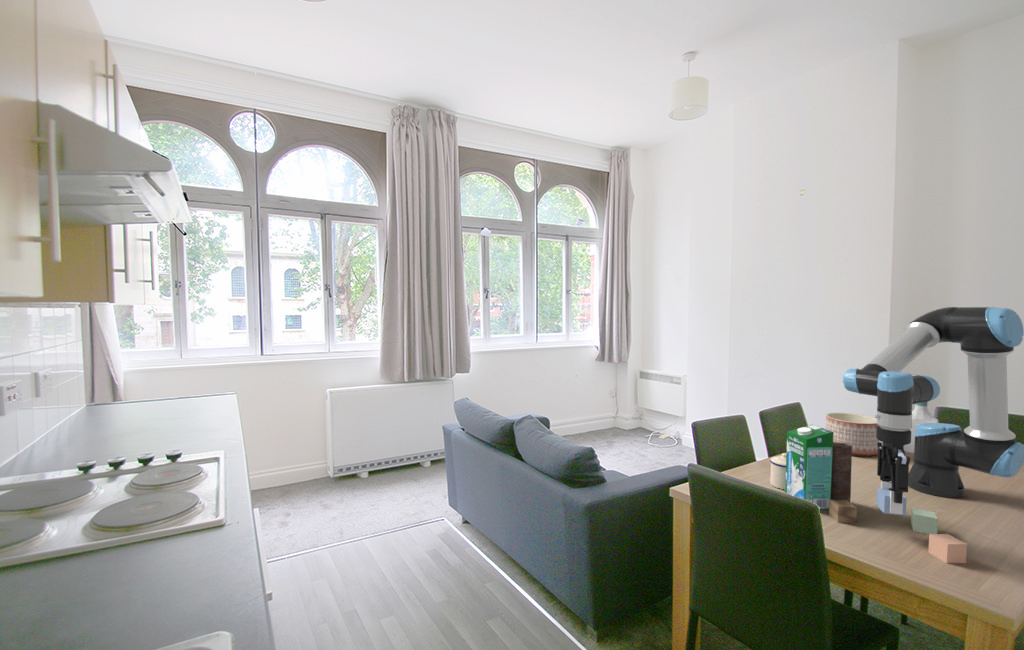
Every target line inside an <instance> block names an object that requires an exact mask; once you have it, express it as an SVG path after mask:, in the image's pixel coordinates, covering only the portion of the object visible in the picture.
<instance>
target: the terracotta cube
mask: <svg viewBox="0 0 1024 650" xmlns="http://www.w3.org/2000/svg"><path fill="white" fill-rule="evenodd" d="M928 535H929V536H928V554H930V555H932V556H934V557H935V558H938V559H939V560H940V561H942V562H944V563H946V564H967V552H968V544H967V542H964V541H962V540H960V539H959V538H956V537H954V536H952V535H951V534H948V533H937V534H928Z"/></svg>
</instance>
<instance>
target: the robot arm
mask: <svg viewBox="0 0 1024 650" xmlns="http://www.w3.org/2000/svg"><path fill="white" fill-rule="evenodd" d="M903 331H904V332H903V333H902V334H901V335H900V336H899V337H897V338H896V339H895V340H894V341H893V342H891V343H890V344H889V345H888V346H886V348H884V349H883V350H882V351H881V352H880V353H878V354H877V355H876V356H875V357H874V358H873V359H872V360H870V361H869V362H867V364H865V365H864V367H862V368H860V369H859V368H858V367H857V368H849V369H847V370H846V371H845V372H844V374H843V376H842V383H843V387H844V388H845V390H847V391H848V392H852V393H856V394H859V395H867V396H873V397H876V398H877V401H876V402H877V406H876V414H875V415H874V418H876V419H877V424H878V425H879V426H877V427H876V438H877V439H878V440H879V442H878V443H877V445H878V453H877V466H876V467H877V468H876V469H877V470H876V471H877V472H876V475H877V476H878V477H879V479H880V480H879V481H880V489H887V490H890V509H889V512H890V513H894V514H893V515H896V514H903V495H904V493H909V487H910V488H912V489H914V490H916V491H918V492H921V493H925V494H928V495H933V496H937V497H943V498H953V499H954V498H958V499H959V498H963V497H965V494H966V490H965V489H966V488H965V486H964V483H963V480H962V477H961V474H960V470H959V469H960V467H962V468H965V469H969V470H973V471H977V472H979V473H980V472H981V473H984V474H988V475H990V476H996V477H997V476H998V477H1001V478H1005V479H1006V478H1007V479H1008V478H1009V479H1010V478H1013V477H1015V476H1016V475H1017V474H1018V473H1019V472H1020V471H1021V469H1022V467H1023V465H1024V444H1023V443H1021V442H1019V441H1018V442H1017V438H1016V434H1015V433H1014V432H1012V430H1010V429H1009V402H1008V399H1009V398H1008V396H1009V394H1008V365H1007V364H1008V361H1007V359H1008V358H1007V356H1008V355H1010V354H1011V353H1013V352H1014V351H1015V349H1014V348H1015V347H1017V346H1020V345H1021V343H1022V342H1023V339H1024V338H1023V337H1024V325H1023V321H1022V318H1021V317H1020V316H1019V314H1018V313H1017V312H1016V311H1015V310H1013V309H1011V308H1006V307H995V306H978V307H977V306H975V307H974V306H973V307H972V306H969V307H968V306H966V307H965V306H964V307H963V306H960V307H957V306H948V307H941V308H938V309H935V310H931V311H929V312H926V313H924V314H923V315H920V316H918V317H916V318H915V319H914V320H912V321H911V322H909V323H908V324H907V325H906V327H905V328H904V330H903ZM939 343H940V344H941V343H954V344H956V343H957V344H960V351H961V352H962V353H964V354H966V356H967V377H968V378H967V380H968V405H969V406H968V409H969V425H968V426H966V427H965V428H964V429H962V427H961V426H960V425H957V424H952V423H943V422H938V423H923V424H919V425H917V427H916V431H915V435H914V437H915V445H914V453H913V464H912V466H911V469H910V463H911V458H910V456H906V452H905V451H904V447H903V446H904V445H907V444H910V443H911V431H910V430H909V429H911V428H912V411H913V405H916V403H924V402H927V403H928V402H931V401H933V400H935V399H937V398H938V397H939V395H940V393H941V388H940V385H939V382H938V381H937V380H936V379H934V378H933V377H931V376H928V375H921V374H916V375H912V374H911V373H908V372H904V371H903V370H904V369H905V368H906V367H908V365H910V364H911V363H912V362H913V361H914V360H916V358H918V357H919V356H920V355H921V354H923V352H924V351H926V350H927V348H933V347H935V346H936V345H938V344H939ZM962 430H963V431H962Z"/></svg>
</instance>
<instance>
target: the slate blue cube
mask: <svg viewBox="0 0 1024 650" xmlns="http://www.w3.org/2000/svg"><path fill="white" fill-rule="evenodd" d="M907 500H908V498H907V497H906V496H905V495H904V494H903V514H894V513H890V512H889V509H890V490H887V489H881V488H876V506H877V507H878V509H879V510H880V511H881V512H882V513H883V514H888V515H898V516H904V517H905V516H907Z"/></svg>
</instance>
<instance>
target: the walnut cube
mask: <svg viewBox="0 0 1024 650" xmlns="http://www.w3.org/2000/svg"><path fill="white" fill-rule="evenodd" d="M857 512H858V507H857V506H855V505H854V504H853V503H852V502H851V501H850V502H849V501H848V500H834V499H830V500H829V509H828V515H829V517H831V518H832V519H833V520H834V521H835V522H837V523H838V524H839V523H843V524H856V525H857Z"/></svg>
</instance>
